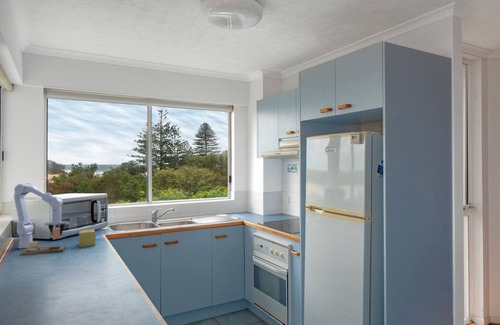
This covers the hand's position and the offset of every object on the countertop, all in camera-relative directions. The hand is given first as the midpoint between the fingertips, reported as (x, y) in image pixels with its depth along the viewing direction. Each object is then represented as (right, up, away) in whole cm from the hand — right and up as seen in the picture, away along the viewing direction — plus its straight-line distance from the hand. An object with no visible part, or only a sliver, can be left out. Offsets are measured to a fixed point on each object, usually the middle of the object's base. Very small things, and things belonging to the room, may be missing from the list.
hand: (56, 235), depth 240 cm
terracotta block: (0, -2, 0) cm, 2 cm away
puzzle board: (-3, -8, -10) cm, 14 cm away
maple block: (-8, -8, -12) cm, 17 cm away
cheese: (+17, -9, +8) cm, 21 cm away
